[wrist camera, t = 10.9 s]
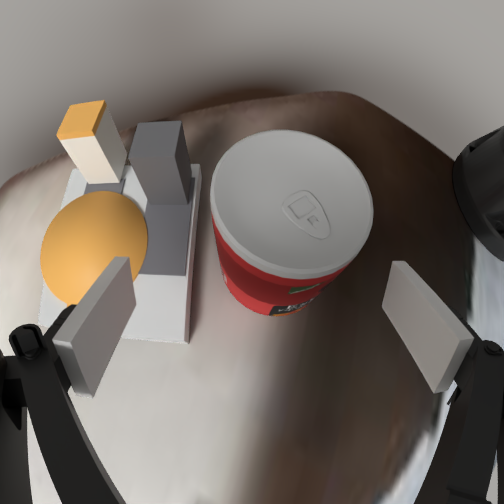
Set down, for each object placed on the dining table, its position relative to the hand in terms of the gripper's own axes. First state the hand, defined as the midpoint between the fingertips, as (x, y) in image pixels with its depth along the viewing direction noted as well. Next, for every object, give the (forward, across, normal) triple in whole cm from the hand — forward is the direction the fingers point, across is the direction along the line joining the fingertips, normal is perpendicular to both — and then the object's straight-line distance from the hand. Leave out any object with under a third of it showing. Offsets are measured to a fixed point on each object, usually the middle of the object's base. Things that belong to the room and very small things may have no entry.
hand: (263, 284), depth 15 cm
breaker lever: (+12, -13, +4) cm, 18 cm away
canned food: (+9, +1, -3) cm, 9 cm away
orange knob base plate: (+9, -11, -2) cm, 14 cm away
